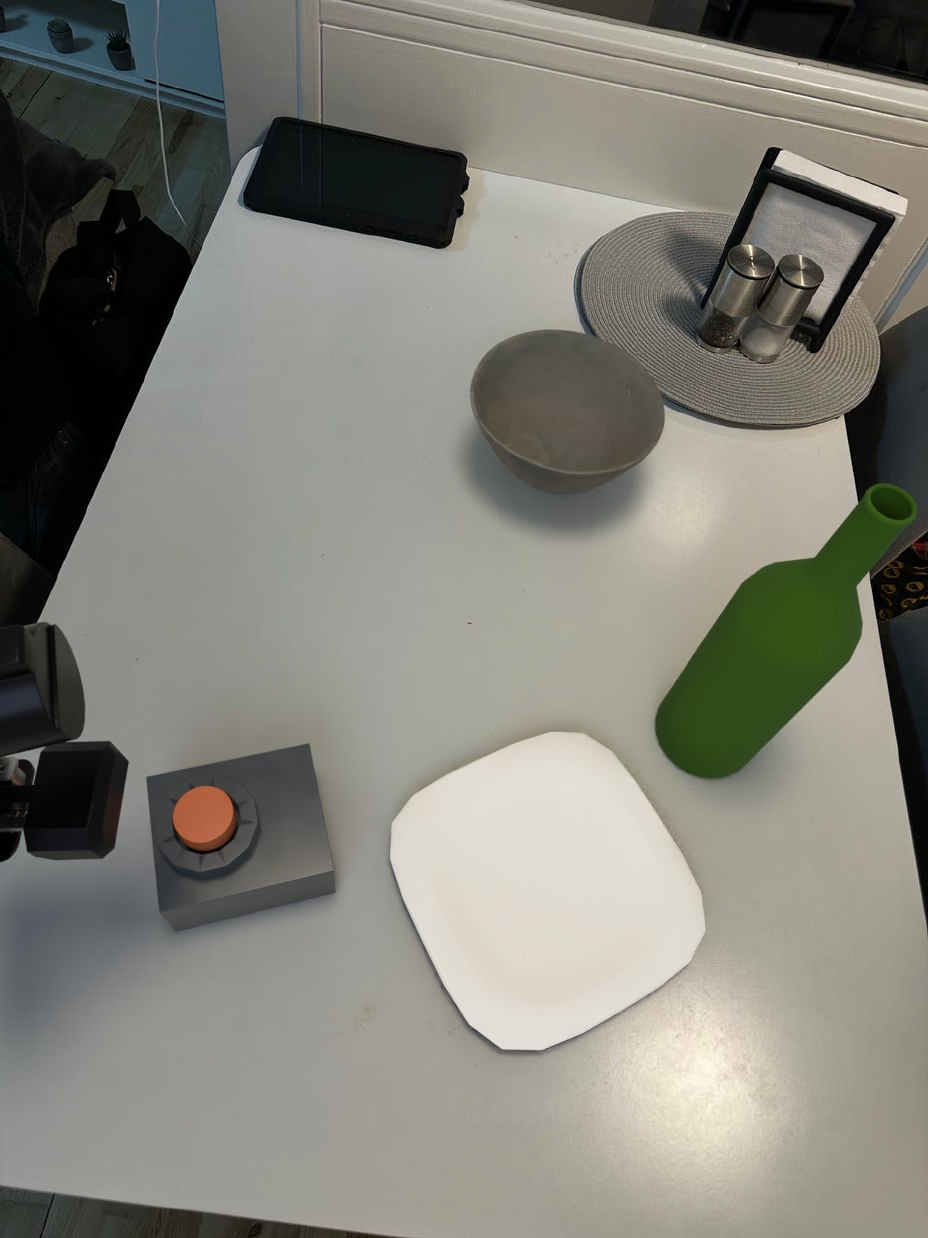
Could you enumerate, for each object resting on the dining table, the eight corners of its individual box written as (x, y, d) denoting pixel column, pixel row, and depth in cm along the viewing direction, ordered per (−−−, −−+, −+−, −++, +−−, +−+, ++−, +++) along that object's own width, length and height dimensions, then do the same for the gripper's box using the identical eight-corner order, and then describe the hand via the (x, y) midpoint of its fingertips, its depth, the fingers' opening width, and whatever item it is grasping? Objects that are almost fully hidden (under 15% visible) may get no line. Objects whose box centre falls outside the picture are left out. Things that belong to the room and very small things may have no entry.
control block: (175, 932, 65) (154, 906, 58) (161, 804, 70) (140, 767, 63) (336, 892, 68) (333, 863, 61) (312, 772, 72) (308, 733, 66)
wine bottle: (723, 677, 81) (913, 432, 54) (770, 765, 77) (1001, 548, 49) (637, 700, 79) (788, 457, 51) (680, 792, 75) (869, 581, 47)
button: (181, 857, 60) (176, 848, 59) (175, 802, 62) (169, 792, 61) (240, 843, 61) (236, 835, 60) (232, 790, 63) (228, 780, 61)
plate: (586, 714, 78) (590, 706, 76) (731, 944, 69) (739, 940, 67) (361, 818, 71) (361, 811, 69) (489, 1089, 62) (492, 1088, 60)
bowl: (437, 415, 94) (445, 342, 86) (596, 389, 99) (619, 317, 91) (494, 554, 86) (509, 488, 77) (666, 518, 90) (698, 452, 82)
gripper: (-406, 937, 38) (-179, 985, 52) (29, 924, 38) (141, 975, 52) (-303, 701, 44) (-123, 800, 57) (77, 692, 44) (166, 793, 58)
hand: (12, 844), depth 56 cm, fingers closed
